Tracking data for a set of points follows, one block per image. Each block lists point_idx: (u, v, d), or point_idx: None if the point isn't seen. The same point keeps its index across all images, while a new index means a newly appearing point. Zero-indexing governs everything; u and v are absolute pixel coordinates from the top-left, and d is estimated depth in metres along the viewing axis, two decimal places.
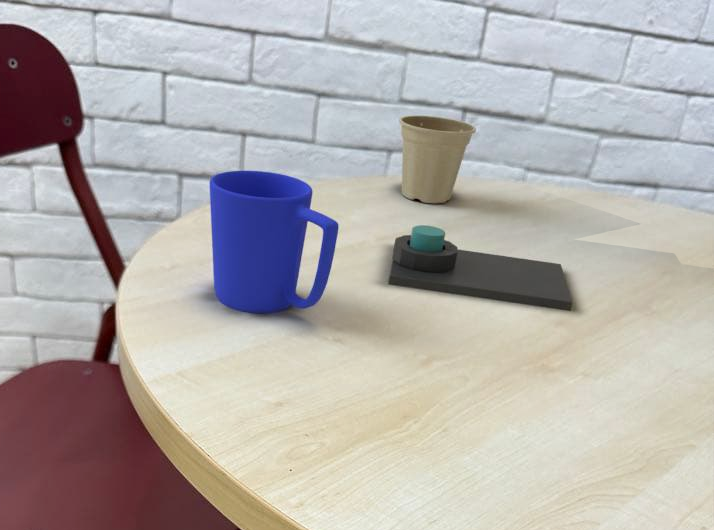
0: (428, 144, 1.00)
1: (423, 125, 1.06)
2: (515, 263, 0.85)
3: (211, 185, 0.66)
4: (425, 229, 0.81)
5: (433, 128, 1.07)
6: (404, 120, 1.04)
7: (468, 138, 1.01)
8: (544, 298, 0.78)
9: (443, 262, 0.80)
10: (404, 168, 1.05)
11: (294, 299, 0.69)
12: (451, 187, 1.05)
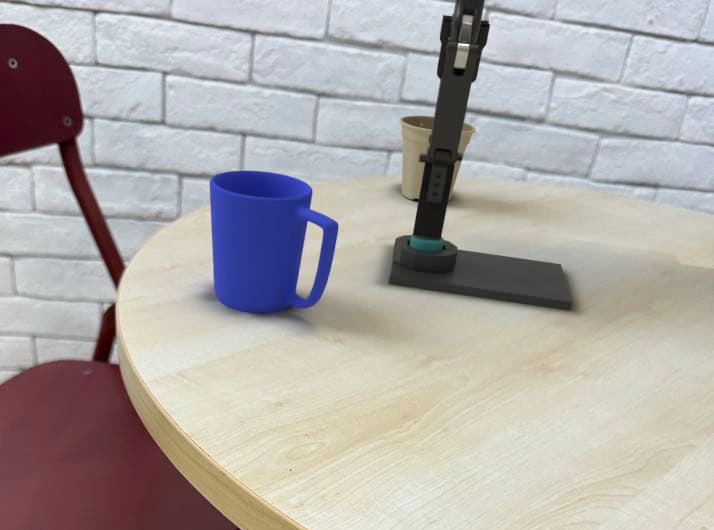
0: (428, 144, 1.00)
1: (423, 125, 1.06)
2: (515, 263, 0.85)
3: (211, 185, 0.66)
4: (424, 236, 0.82)
5: None
6: (404, 120, 1.04)
7: (468, 138, 1.01)
8: (544, 298, 0.78)
9: (443, 262, 0.80)
10: (404, 168, 1.05)
11: (294, 299, 0.69)
12: (451, 187, 1.05)
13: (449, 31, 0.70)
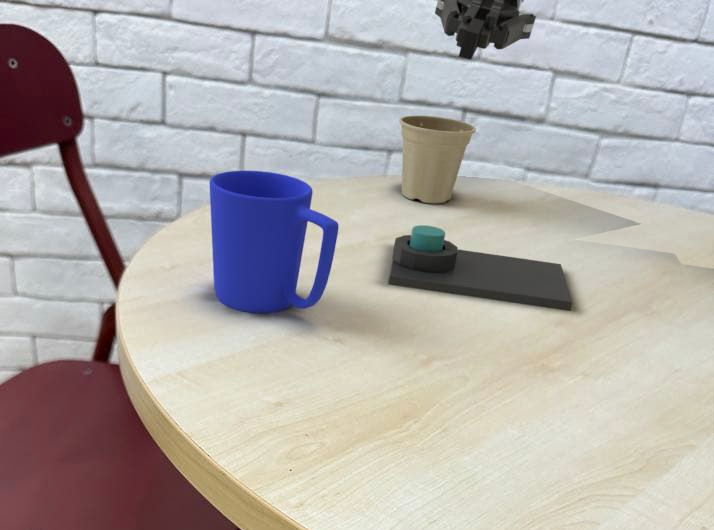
0: (428, 144, 1.00)
1: (423, 125, 1.06)
2: (515, 263, 0.85)
3: (211, 185, 0.66)
4: (425, 229, 0.81)
5: (433, 128, 1.07)
6: (404, 120, 1.04)
7: (468, 138, 1.01)
8: (544, 298, 0.78)
9: (443, 262, 0.80)
10: (404, 168, 1.05)
11: (294, 299, 0.69)
12: (451, 187, 1.05)
13: None
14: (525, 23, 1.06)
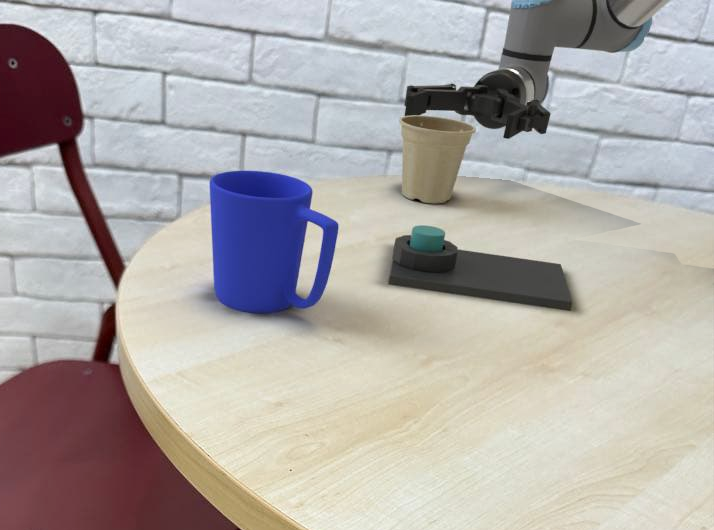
0: (428, 144, 1.00)
1: (423, 125, 1.06)
2: (515, 263, 0.85)
3: (211, 185, 0.66)
4: (425, 229, 0.81)
5: (433, 128, 1.07)
6: (404, 120, 1.04)
7: (468, 138, 1.01)
8: (544, 298, 0.78)
9: (443, 262, 0.80)
10: (404, 168, 1.05)
11: (294, 299, 0.69)
12: (451, 187, 1.05)
13: None
14: None
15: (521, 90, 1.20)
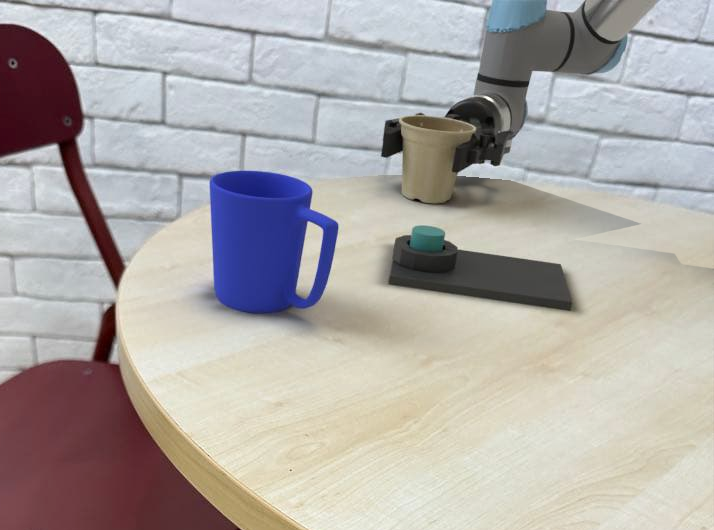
0: (428, 144, 1.00)
1: (423, 125, 1.06)
2: (515, 263, 0.85)
3: (211, 185, 0.66)
4: (425, 229, 0.81)
5: (433, 128, 1.07)
6: (404, 120, 1.04)
7: (468, 138, 1.01)
8: (544, 298, 0.78)
9: (443, 262, 0.80)
10: (404, 168, 1.05)
11: (294, 299, 0.69)
12: (451, 187, 1.05)
13: None
14: (507, 139, 1.09)
15: (495, 119, 1.13)
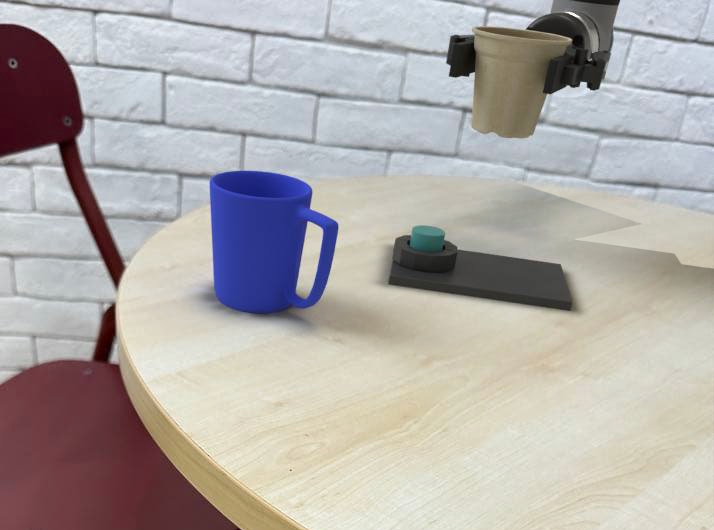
0: (512, 58, 0.78)
1: None
2: (515, 263, 0.85)
3: (211, 185, 0.66)
4: (425, 229, 0.81)
5: None
6: None
7: (562, 51, 0.79)
8: (544, 298, 0.78)
9: (443, 262, 0.80)
10: (477, 93, 0.82)
11: (294, 299, 0.69)
12: (536, 118, 0.82)
13: None
14: None
15: (585, 39, 0.90)
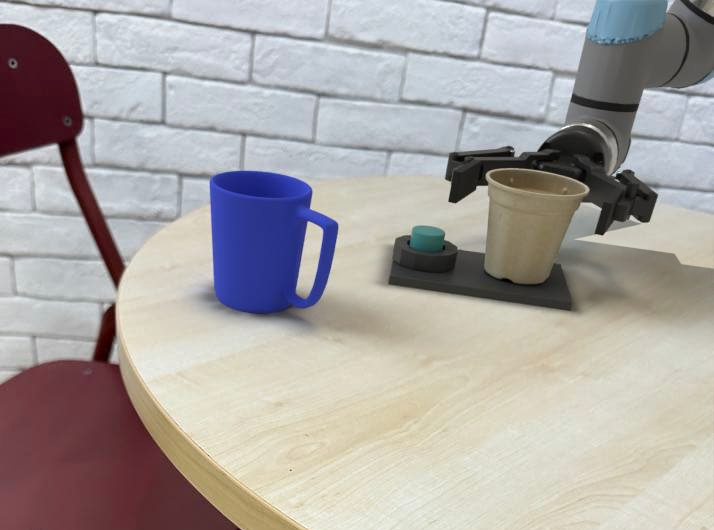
0: (528, 211, 0.75)
1: (513, 181, 0.81)
2: None
3: (211, 185, 0.66)
4: (425, 229, 0.81)
5: (526, 185, 0.81)
6: (491, 176, 0.79)
7: (580, 202, 0.76)
8: (544, 298, 0.78)
9: (443, 262, 0.80)
10: (491, 239, 0.79)
11: (294, 299, 0.69)
12: (552, 263, 0.80)
13: None
14: None
15: (605, 155, 0.87)
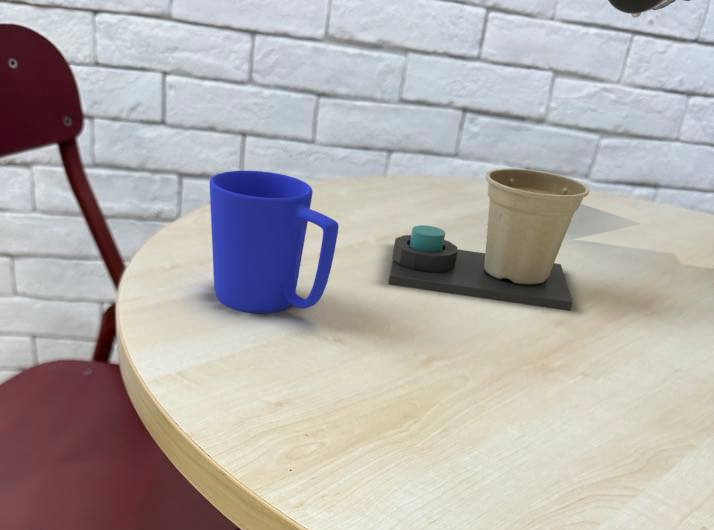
0: (528, 211, 0.75)
1: (513, 181, 0.81)
2: None
3: (211, 185, 0.66)
4: (425, 229, 0.81)
5: (526, 185, 0.81)
6: (491, 176, 0.79)
7: (580, 202, 0.76)
8: (544, 298, 0.78)
9: (443, 262, 0.80)
10: (491, 239, 0.79)
11: (294, 299, 0.69)
12: (552, 263, 0.80)
13: None
14: None
15: None
